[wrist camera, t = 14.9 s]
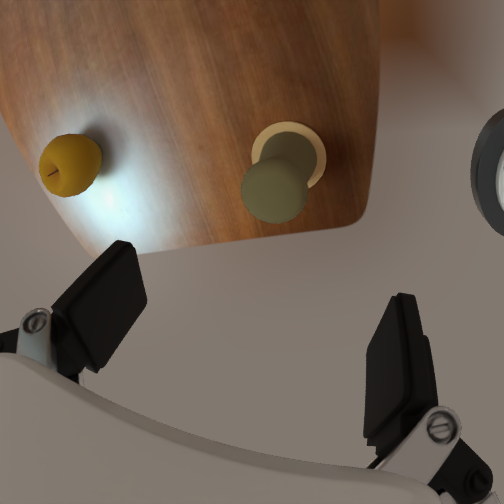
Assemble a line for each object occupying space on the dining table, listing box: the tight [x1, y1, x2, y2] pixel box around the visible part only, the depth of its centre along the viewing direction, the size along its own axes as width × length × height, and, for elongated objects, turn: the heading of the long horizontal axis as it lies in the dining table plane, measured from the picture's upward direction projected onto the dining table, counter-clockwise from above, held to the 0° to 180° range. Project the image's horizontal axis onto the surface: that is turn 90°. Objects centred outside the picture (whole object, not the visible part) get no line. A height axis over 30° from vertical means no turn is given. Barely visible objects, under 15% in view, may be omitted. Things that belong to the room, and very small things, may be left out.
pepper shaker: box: [241, 131, 317, 224], centre depth 26 cm, size 6×6×11 cm
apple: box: [39, 134, 102, 197], centre depth 32 cm, size 9×8×9 cm
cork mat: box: [252, 121, 326, 188], centre depth 30 cm, size 8×8×1 cm
